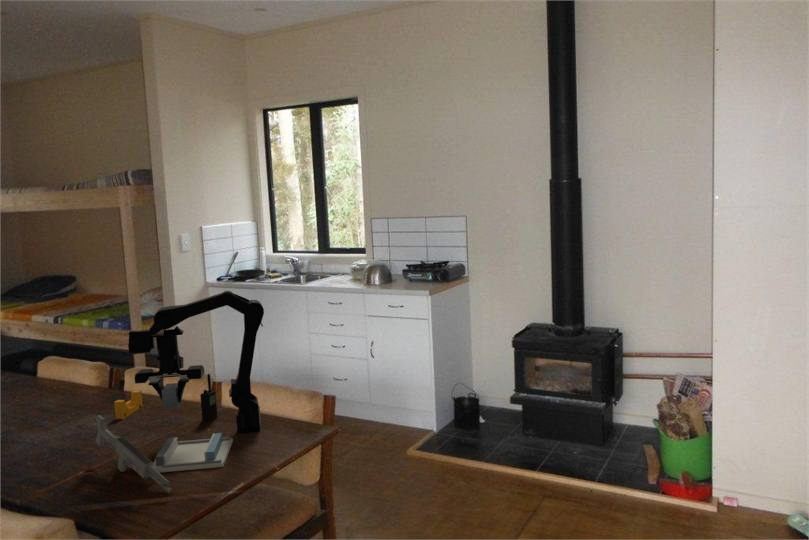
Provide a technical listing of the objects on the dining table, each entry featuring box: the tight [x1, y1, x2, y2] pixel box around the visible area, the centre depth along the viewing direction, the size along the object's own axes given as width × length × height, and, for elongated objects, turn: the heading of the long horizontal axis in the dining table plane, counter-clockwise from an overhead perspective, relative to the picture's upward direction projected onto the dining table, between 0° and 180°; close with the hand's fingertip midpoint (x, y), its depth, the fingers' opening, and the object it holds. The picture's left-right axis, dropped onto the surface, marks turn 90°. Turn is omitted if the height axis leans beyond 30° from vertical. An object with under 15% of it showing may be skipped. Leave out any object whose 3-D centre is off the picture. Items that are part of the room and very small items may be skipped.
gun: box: [95, 414, 172, 494], centre depth 169 cm, size 36×4×10 cm, turn 50°
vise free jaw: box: [204, 432, 224, 461], centre depth 181 cm, size 2×14×2 cm, turn 7°
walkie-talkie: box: [200, 373, 218, 423], centre depth 209 cm, size 5×3×15 cm
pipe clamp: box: [113, 390, 144, 420], centre depth 220 cm, size 12×4×6 cm, turn 172°
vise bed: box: [152, 436, 234, 474], centre depth 180 cm, size 19×18×4 cm
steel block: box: [161, 382, 183, 411], centre depth 193 cm, size 4×6×6 cm, turn 6°
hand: (172, 402), depth 193 cm, fingers closed on steel block, 4 cm apart
